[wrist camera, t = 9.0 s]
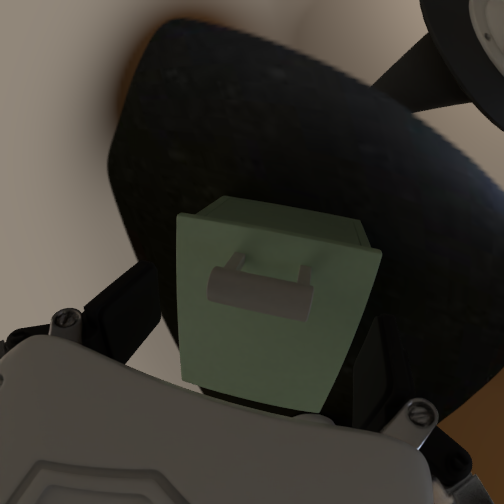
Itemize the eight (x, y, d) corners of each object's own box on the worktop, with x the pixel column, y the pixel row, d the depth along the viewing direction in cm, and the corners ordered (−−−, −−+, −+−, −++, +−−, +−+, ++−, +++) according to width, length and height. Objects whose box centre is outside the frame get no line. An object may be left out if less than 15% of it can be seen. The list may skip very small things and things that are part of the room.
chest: (223, 195, 26) (180, 223, 18) (360, 220, 24) (377, 261, 16) (215, 321, 32) (184, 375, 24) (323, 345, 30) (319, 407, 22)
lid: (181, 212, 18) (136, 239, 14) (380, 249, 16) (399, 292, 11) (184, 375, 24) (161, 415, 20) (319, 407, 22) (314, 454, 18)
